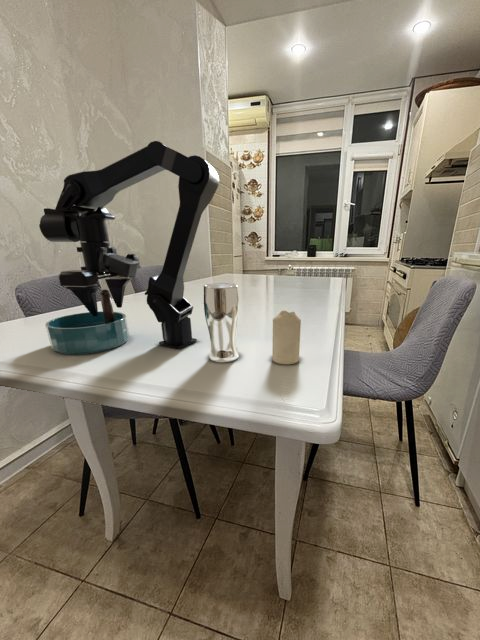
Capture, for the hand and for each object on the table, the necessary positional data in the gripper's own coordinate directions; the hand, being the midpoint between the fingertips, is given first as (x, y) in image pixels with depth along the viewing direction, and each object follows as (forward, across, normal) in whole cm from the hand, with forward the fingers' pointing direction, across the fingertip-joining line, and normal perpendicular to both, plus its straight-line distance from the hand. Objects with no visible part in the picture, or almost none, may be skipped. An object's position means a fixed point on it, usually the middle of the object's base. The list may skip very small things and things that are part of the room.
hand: (108, 311), depth 69 cm
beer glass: (+7, -7, -30) cm, 32 cm away
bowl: (+7, -3, +4) cm, 9 cm away
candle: (+7, -7, -43) cm, 44 cm away
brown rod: (+6, 0, 0) cm, 6 cm away
